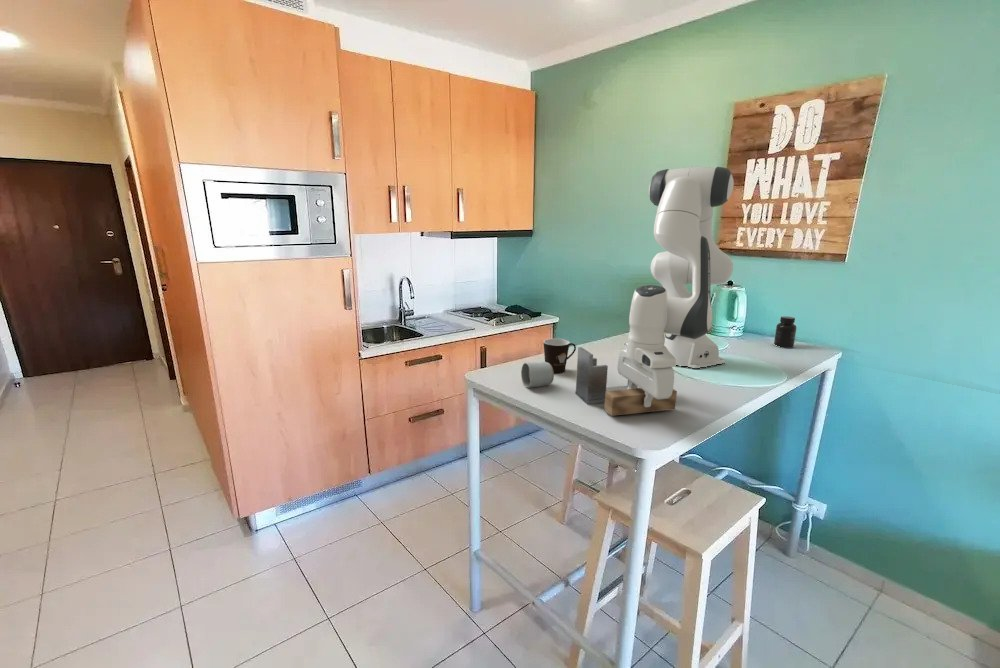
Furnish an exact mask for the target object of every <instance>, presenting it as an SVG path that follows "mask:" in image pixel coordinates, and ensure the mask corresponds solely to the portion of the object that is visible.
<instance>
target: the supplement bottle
mask: <svg viewBox="0 0 1000 668" xmlns="http://www.w3.org/2000/svg"><path fill="white" fill-rule="evenodd" d="M795 320H796V318H795V317H793V316H780V318H779V322H778V323H777V324H776V326H775V327H776V328H775V333H774V334H775V335H774V340H773V345H774V344H775V345H777V346H780V347H779V348H781V347H792V348H794V346H795V341H796V340H795V339H796V336H797V335H796V334H797V325H796V324H795V322H796V321H795ZM775 345H774V346H775ZM777 346H776V347H777Z"/></svg>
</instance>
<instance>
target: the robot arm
mask: <svg viewBox="0 0 1000 668" xmlns="http://www.w3.org/2000/svg"><path fill="white" fill-rule="evenodd" d="M734 184H735V183H734V177H733V173H732V171H731V170H730V169H729V168H727V167H722V166H716V167H711V166H691V167H682V168H673V169H668V168H665V169H662V170H659V171H657V172H656V173H654V174H653V176H652V178H651V181H650V183H649V186H648V196H649V200H650V202H651V203H652V204H653V206H656V207H657V211H656V212H655V213H656V214H655V218H654V223H653V224H654V225H653V237H654V240H655V242H656V243H657V244H658V245H659V246H660V247H661V248H662V249H663V250H664V251H661V252H658V253H657V254H655V255H654V257H653V258H652V260H651V261H650V272H651V275H652V277H653V278H654V280H656V281H657V282H659V284H660V285H656V284H655V285H654V284H647V285H641V286H638V287H637V288H635V290H634V292H633V295H632V298H631V303H630V310H629V317H628V324H629V333H628V335H627V341H626V342H625V343H624V344H622V348H621V349H620V352H619V355H618V361H617V372H618V374H619V375H620V376H621V377H623V378H625V379H626V380H627V381H628V380H629V386H630V389H637V388H638V387H640V388H641V389H643V390H644V391H645V395H646V396H645V398H644V399H642V405H643V406H645V407H650V406H651V401H652V399H653V398H654V397H655V398H656V399H668V398H670V396H671V395H672V392H673V389H674V384H675V371H674V369H673V368H674V367H677V366H676V365H681V366H688V367H694V368H700V367H706V366H711V365H716V364H722V363H725V364H726V360H725V359H724V358H722V357H720V356H719V355H720V353H719V347H718V344H717V343H715V342H714V341H713V340H711V338H710V337H708V336H707V335H706V334H708V333H709V332H711V330H712V323H713V310H712V306H711V305H712V303H711V302H712V301H711V285H721V284H725V283H726V282H727V281H728V280H729V279H730V278H731V276H732V275H733V271H734V263H733V260H732V257H730V255H728V254H727V253H725V252H723V250H721V249H720V248H719V247H718V246H717V243H716V242H715V239H714V237H713V217H714V216H713V215H714V208H715V207H721V206H723V205H725V204H726V203H727V202H728V200H729V199H730V197H731V196H732V193H733V190H734ZM688 284H691V285H692V289H691V290H692V291H689V290H688V288H687V285H688ZM722 365H723V364H722ZM681 366H680V367H681ZM688 367H687V368H688ZM711 367H712V366H711ZM706 368H707V367H706ZM700 369H701V368H700Z"/></svg>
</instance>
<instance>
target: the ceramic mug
mask: <svg viewBox="0 0 1000 668" xmlns="http://www.w3.org/2000/svg"><path fill="white" fill-rule="evenodd" d="M520 374H521V375H520V376H521V382H522V384H523V386H524V387H525V388H526V389H530V388H536V387H539V388H540V387H545V386H550V385H551V384H552V383H553V381H554V378H555V374H554V371H553V368H552V365H551V364H550V363H548V362H545V361H531V362H529V361H526V362H524V363H523V364H522V365H521V370H520Z"/></svg>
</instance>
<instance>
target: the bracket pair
mask: <svg viewBox="0 0 1000 668" xmlns="http://www.w3.org/2000/svg"><path fill="white" fill-rule="evenodd" d="M597 364H598V358H596V357H594V354H593V353H591V352H590V351H588V350H587V349H586V348H583V347H582V346H580V347H577V363H576V365H577V366H576V381H575V383H576V384H575V393H574V394H575V395H576V396H577V397H579V399H581V400H582V402H584V403H585V404H587V405H593V404H594V405H596V404H603V403H604V404H605V394H606V391H615V390H626V389H630V386H629V380H628V379H627V385H619V386H617V385H616V386H608V387H607V382H608V381H607V380H608V367H609V366H608V365H606V364H601V365H597ZM638 388H640V387H638Z"/></svg>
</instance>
